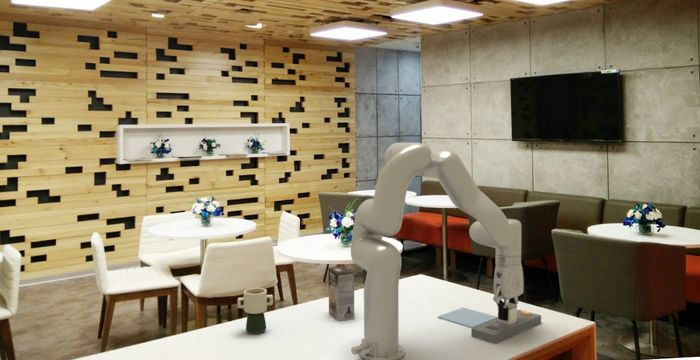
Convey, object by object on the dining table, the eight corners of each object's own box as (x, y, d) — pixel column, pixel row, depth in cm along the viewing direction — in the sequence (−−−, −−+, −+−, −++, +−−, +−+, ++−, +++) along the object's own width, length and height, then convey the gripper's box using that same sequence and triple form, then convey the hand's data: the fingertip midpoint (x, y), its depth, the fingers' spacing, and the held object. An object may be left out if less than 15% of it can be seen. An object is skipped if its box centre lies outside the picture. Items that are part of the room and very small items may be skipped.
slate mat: (472, 328, 173) (472, 327, 173) (437, 317, 183) (437, 316, 183) (497, 318, 182) (497, 316, 182) (463, 308, 193) (463, 307, 193)
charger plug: (509, 332, 169) (509, 307, 168) (497, 329, 172) (498, 304, 171) (516, 329, 172) (517, 304, 171) (505, 326, 175) (505, 301, 174)
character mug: (271, 326, 177) (270, 286, 176) (275, 333, 170) (274, 292, 169) (237, 329, 174) (236, 289, 173) (239, 337, 167) (238, 295, 166)
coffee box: (328, 313, 189) (327, 267, 188) (345, 311, 192) (345, 265, 190) (337, 321, 181) (336, 273, 179) (355, 319, 183) (355, 271, 182)
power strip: (494, 343, 160) (494, 333, 160) (471, 336, 166) (471, 326, 166) (541, 322, 177) (541, 313, 177) (518, 316, 183) (518, 307, 183)
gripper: (503, 266, 162) (502, 327, 163) (533, 257, 173) (532, 314, 174) (481, 262, 167) (481, 321, 169) (512, 253, 178) (511, 309, 180)
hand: (507, 317), depth 171 cm, fingers closed on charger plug, 4 cm apart
